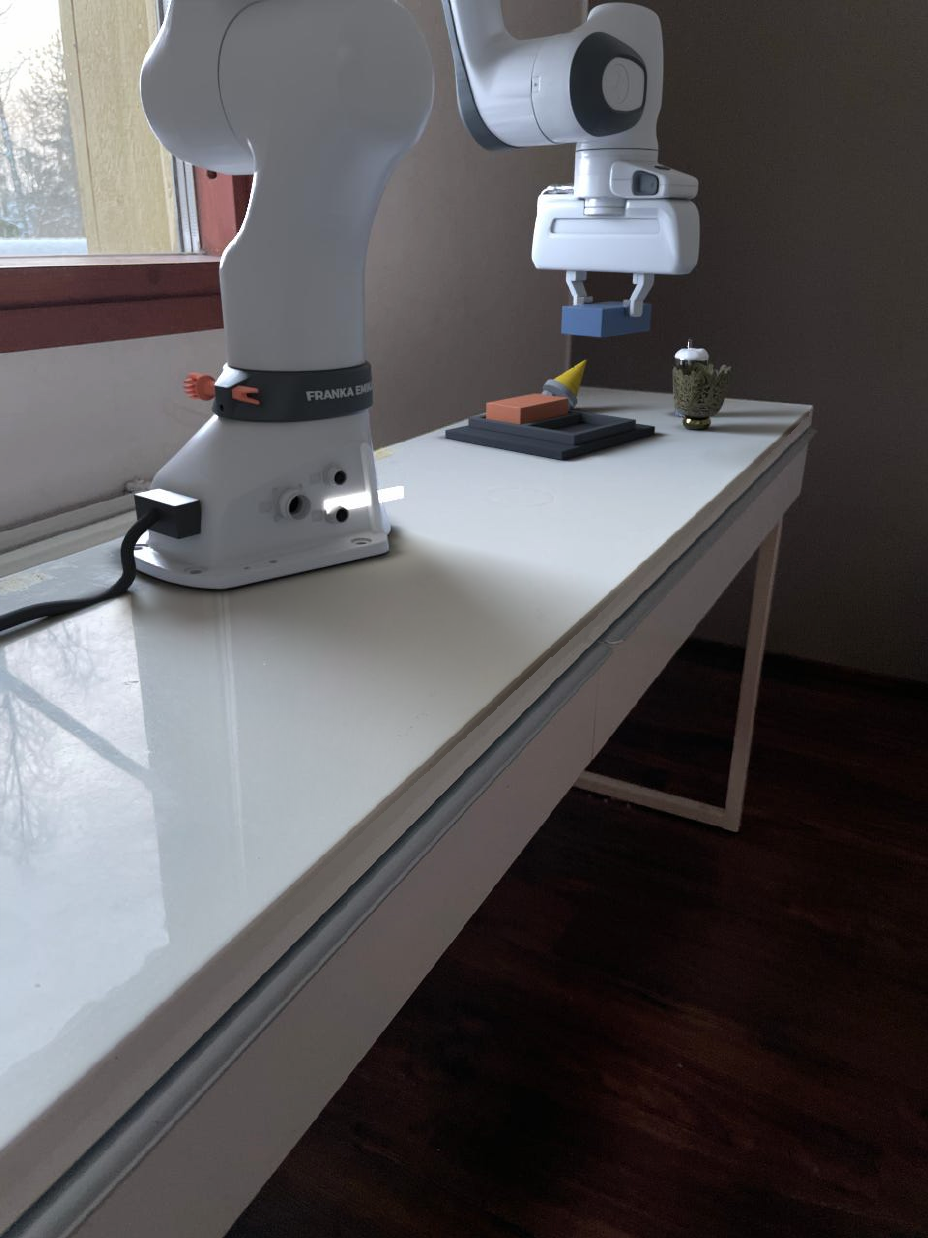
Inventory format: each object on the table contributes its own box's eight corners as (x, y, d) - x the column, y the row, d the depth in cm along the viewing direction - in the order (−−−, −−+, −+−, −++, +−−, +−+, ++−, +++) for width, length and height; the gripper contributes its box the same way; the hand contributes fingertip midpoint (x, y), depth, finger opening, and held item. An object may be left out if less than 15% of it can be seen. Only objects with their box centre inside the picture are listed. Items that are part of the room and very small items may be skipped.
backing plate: (561, 460, 108) (562, 440, 107) (445, 437, 119) (445, 420, 118) (654, 433, 122) (656, 416, 121) (542, 416, 133) (542, 400, 132)
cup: (655, 427, 125) (660, 365, 122) (688, 420, 130) (694, 360, 127) (703, 436, 120) (710, 371, 117) (736, 428, 125) (743, 366, 122)
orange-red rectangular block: (520, 432, 117) (520, 407, 116) (486, 426, 120) (486, 402, 119) (567, 421, 124) (568, 397, 123) (534, 415, 127) (535, 393, 126)
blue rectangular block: (601, 337, 104) (602, 308, 103) (560, 333, 108) (562, 305, 107) (649, 330, 111) (651, 303, 110) (610, 327, 115) (612, 301, 114)
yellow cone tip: (531, 411, 138) (570, 359, 140) (562, 430, 137) (601, 377, 139) (530, 394, 133) (571, 340, 135) (562, 413, 132) (602, 358, 133)
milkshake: (699, 411, 137) (706, 339, 133) (704, 418, 132) (712, 343, 128) (667, 410, 137) (673, 338, 133) (671, 417, 132) (678, 342, 128)
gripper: (522, 182, 108) (519, 310, 113) (681, 177, 95) (670, 322, 100) (555, 184, 112) (551, 307, 117) (712, 179, 99) (699, 318, 105)
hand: (607, 314), depth 109 cm, fingers closed on blue rectangular block, 5 cm apart
